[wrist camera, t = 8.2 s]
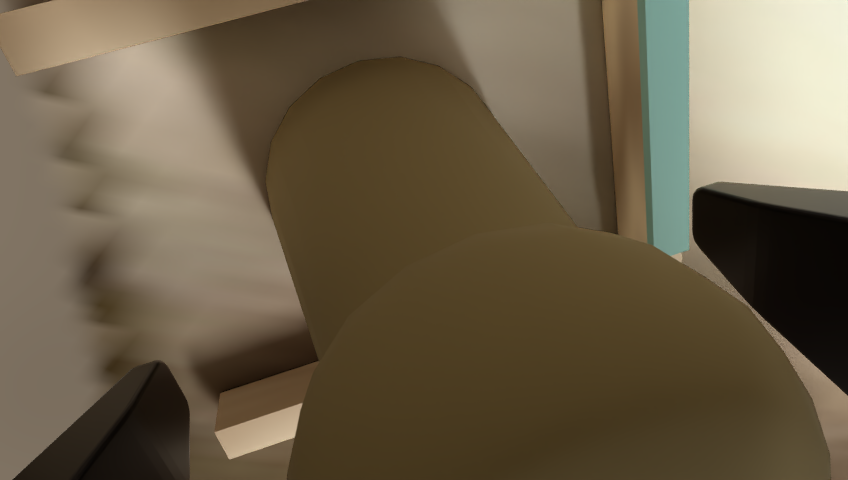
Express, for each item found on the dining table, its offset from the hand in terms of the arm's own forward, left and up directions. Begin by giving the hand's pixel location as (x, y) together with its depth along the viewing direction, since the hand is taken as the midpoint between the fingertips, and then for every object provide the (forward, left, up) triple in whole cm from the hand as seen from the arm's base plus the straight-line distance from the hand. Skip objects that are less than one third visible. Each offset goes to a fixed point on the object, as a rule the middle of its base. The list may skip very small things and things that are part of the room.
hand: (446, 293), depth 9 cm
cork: (0, 0, -6) cm, 6 cm away
